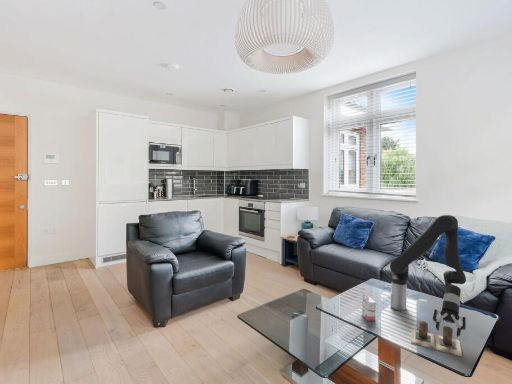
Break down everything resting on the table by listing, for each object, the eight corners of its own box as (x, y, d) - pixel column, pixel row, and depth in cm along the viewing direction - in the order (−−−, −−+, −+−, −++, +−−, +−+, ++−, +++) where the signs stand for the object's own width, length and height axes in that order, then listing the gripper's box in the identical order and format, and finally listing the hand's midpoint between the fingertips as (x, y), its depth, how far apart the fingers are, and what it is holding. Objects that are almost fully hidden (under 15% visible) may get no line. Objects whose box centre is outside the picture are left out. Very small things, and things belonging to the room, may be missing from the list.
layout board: (410, 342, 148) (410, 340, 148) (411, 330, 160) (412, 328, 160) (461, 356, 137) (462, 353, 137) (459, 342, 149) (459, 339, 149)
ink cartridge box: (375, 320, 171) (376, 297, 170) (368, 321, 171) (368, 297, 170) (369, 314, 180) (369, 291, 179) (361, 314, 179) (362, 292, 178)
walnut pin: (443, 343, 145) (443, 329, 145) (442, 340, 148) (443, 325, 148) (452, 346, 143) (452, 331, 142) (451, 342, 146) (452, 327, 146)
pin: (418, 337, 151) (419, 323, 150) (418, 334, 154) (419, 320, 154) (427, 340, 148) (427, 325, 148) (427, 336, 152) (427, 322, 151)
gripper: (435, 297, 155) (430, 325, 147) (467, 304, 145) (464, 335, 137) (436, 303, 159) (432, 330, 151) (467, 310, 150) (464, 340, 142)
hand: (447, 332), depth 144 cm, fingers open, 8 cm apart
